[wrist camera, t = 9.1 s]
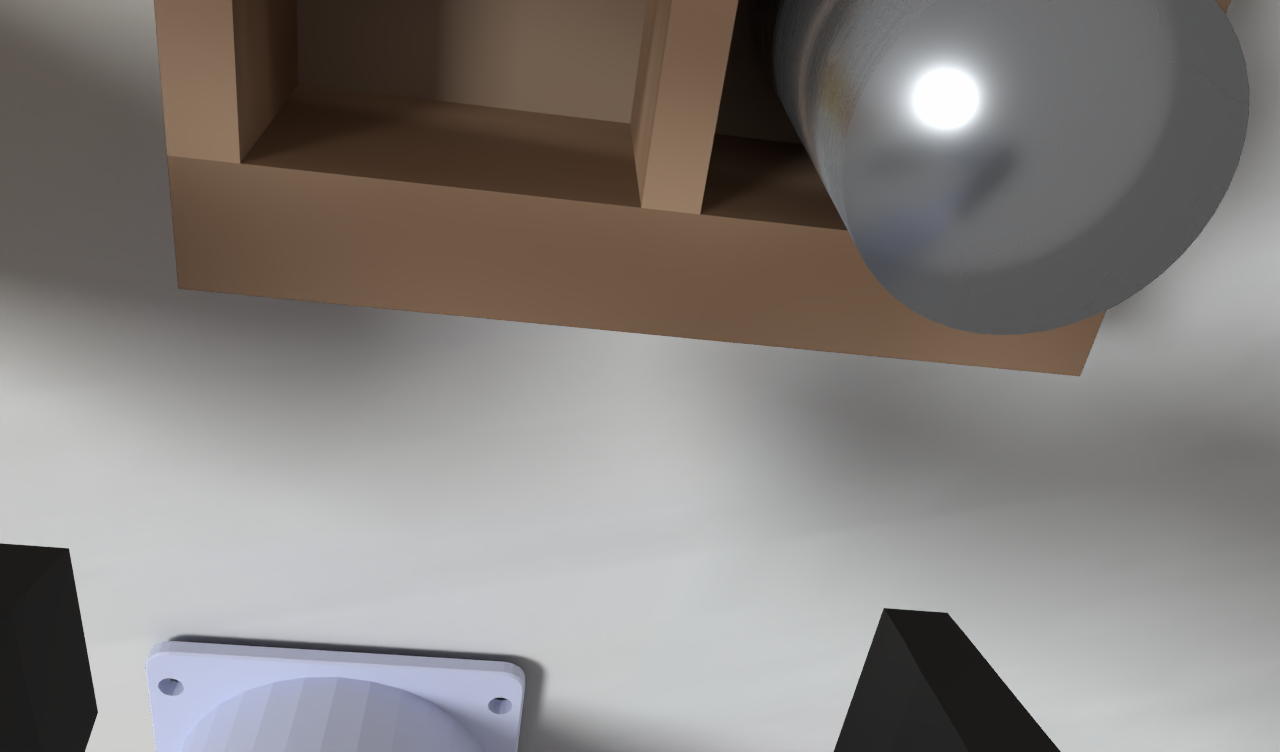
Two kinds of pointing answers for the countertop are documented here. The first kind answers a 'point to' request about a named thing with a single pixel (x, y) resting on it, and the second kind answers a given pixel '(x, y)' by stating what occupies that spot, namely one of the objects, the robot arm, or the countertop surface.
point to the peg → (1012, 143)
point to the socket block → (525, 174)
